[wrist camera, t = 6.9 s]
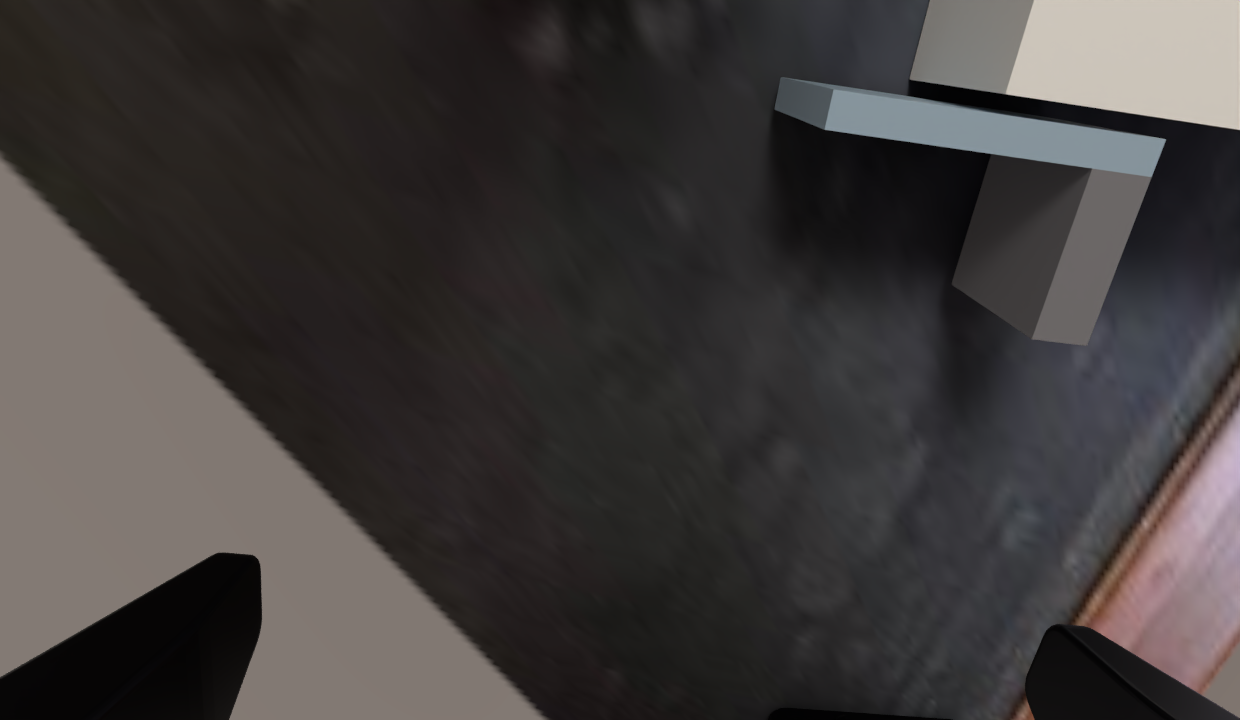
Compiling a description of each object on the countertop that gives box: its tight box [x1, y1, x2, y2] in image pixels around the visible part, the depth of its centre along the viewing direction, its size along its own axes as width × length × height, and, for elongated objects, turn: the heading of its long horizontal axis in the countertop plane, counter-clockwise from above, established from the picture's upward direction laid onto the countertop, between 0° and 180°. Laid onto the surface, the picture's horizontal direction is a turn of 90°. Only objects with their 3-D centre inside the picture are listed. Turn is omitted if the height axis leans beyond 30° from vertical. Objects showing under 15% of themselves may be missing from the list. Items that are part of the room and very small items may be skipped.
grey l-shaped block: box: [774, 77, 1166, 346], centre depth 17 cm, size 4×6×4 cm, turn 82°
